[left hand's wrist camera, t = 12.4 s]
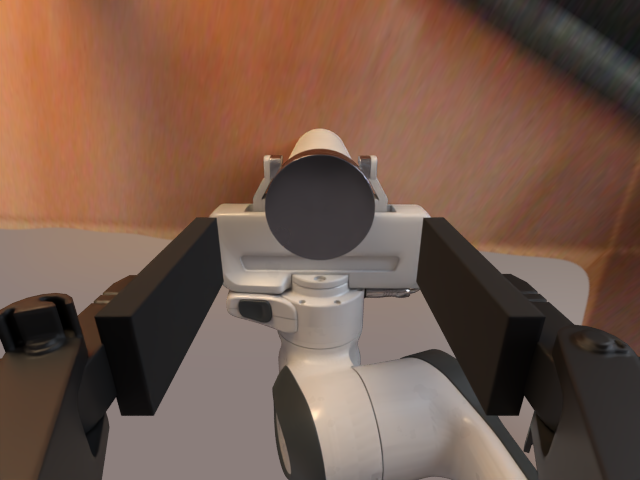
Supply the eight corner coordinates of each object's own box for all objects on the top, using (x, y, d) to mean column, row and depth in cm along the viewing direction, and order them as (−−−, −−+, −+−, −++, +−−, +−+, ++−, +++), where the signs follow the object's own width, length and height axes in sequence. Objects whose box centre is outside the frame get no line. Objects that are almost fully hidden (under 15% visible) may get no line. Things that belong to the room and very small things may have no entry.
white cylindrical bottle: (347, 179, 37) (371, 248, 20) (297, 184, 38) (277, 257, 20) (344, 125, 35) (367, 152, 18) (290, 131, 36) (263, 163, 18)
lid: (371, 240, 22) (377, 255, 20) (277, 249, 22) (273, 265, 20) (367, 143, 20) (372, 148, 18) (262, 153, 20) (256, 160, 18)
